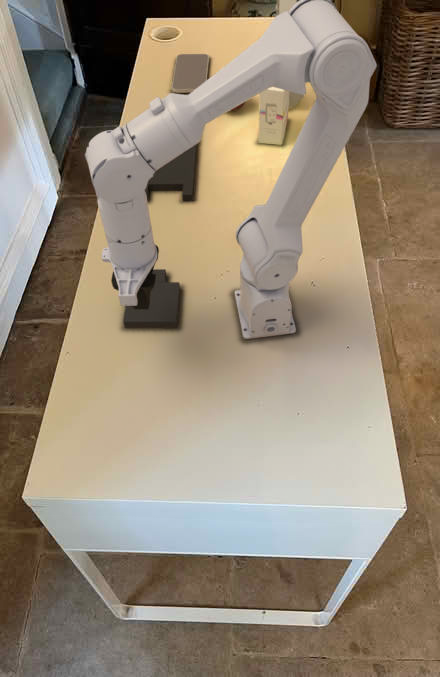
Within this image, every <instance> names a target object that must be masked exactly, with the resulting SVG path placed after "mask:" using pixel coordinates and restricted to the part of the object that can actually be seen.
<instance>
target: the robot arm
mask: <svg viewBox="0 0 440 677" xmlns="http://www.w3.org/2000/svg"><path fill="white" fill-rule="evenodd" d="M377 66H378V65H377V62H376V59H375V58H374V55H373V54H372V51H371V49H370V47H369V45H368V43H367V42H366V40H365V39H364V38H363V37H361V35H359V34H358V33H357V32H356V31H355V30H354V29H353V28H352V26H351V25H350V24H349V23H348V21H346V19H345V18H344V17H343V16H342V14H341V13H340V12H339V11H338V8H337V7H336V5H335V4H334V3H333V1H332V0H297V3H296V4H295V5H294V6H293V7H292V8H291V9H290V10H289V12H288V11H285V12H283V13H281V14H279V15H278V16H276V15H275V17H274V18H273V19H272V21H271V22H270V24H269V25H268V27H267V28H266V30H265V31H264V33H263V34H262V35H261V37H260V38H258V39H257V40H256V41H255V42H253V43H252V44H251V45H249V46H248V47H247V48H246V49H244V50H242V51H241V53H239V54H238V55H236V56H235V57H233V59H231V61H229V62H228V63H227V64H225V65H224V66H223V67H222V68H220V69H219V70H218V71H217V72H215V73H214V74H213V75H212V76H210V77H209V78H207V81H205V82H204V83H203V84H202V85H200V86H199V87H198V88H197V89H195V90H194V91H193V92H191V93H188V94H182V93H175V92H171V93H168V94H167V95H166V96H164V97H163V98H160V97H159V96H157V97H155V98H154V99H152V100H151V101H149V102H148V106H149V107H148V108H147V109H146V110H144V111H143V112H141V113H140V114H138V115H137V116H135V117H134V118H133V119H131V120H130V121H128V122H127V123H125V124H124V125H122V126H121V125H119V126H117V127H115V128H114V129H109V130H104V131H101V132H100V133H98V134H96V135H95V136H94V137H92V139H90V141H89V142H88V146H86V151H85V153H84V157H85V160H86V162H87V165H88V170H89V174H90V178H91V183H92V186H93V188H94V191H95V194H96V198H97V206H98V211H99V214H100V218H101V222H102V227H103V232H104V235H105V239H106V242H107V247H104V248H102V252H101V260H102V262H104V263H110V265H111V268H112V275H111V279H110V281H111V286H112V288H113V289H114V290H116V291H118V294H117V296H118V299H119V303H120V306H121V307H126V306H132V307H133V308H134V309H149V305H150V293H151V290H152V289H153V287H154V285H155V279H156V274H153V269H154V268H155V266H156V264H157V261H158V259H159V253H160V249H159V246H158V245H157V244H156V243H155V239H154V233H153V229H152V222H151V215H150V214H151V213H150V209H149V203H148V201H147V196H146V193H145V189H146V186H147V183H148V180H149V179H150V178H151V177H153V174H154V173H155V171H156V170H158V169H159V168H161V167H162V166H164V165H165V164H167V163H168V162H170V161H171V160H173V159H174V158H176V157H177V156H179V155H180V154H182V153H183V152H185V151H186V150H188V149H190V148H191V147H193V146H194V145H196V144H197V145H198V144H199V143H200V142H201V141H202V137H203V134H204V130H205V128H206V125H207V124H209V123H211V122H212V121H214V120H216V119H219V117H221V116H223V115H225V114H226V113H229V112H230V110H232V109H233V108H235V107H237V106H239V105H240V104H242V103H244V102H245V103H247V102H248V101H249V100H251V99H253V98H254V97H256V96H258V95H259V94H260V93H261V92H263V91H265V90H267V89H268V88H270V87H276V88H279V89H283V90H287V91H290V92H294V93H297V94H301V95H304V96H305V95H306V94H307V88H306V84H308V83H310V85H311V88H312V90H313V92H314V94H315V100H314V103H313V104H312V107H311V109H310V111H309V113H308V114H307V117H306V119H305V121H304V124H303V125H302V128H301V129H300V132H299V134H298V136H297V138H296V140H295V142H294V144H293V146H292V148H291V150H290V153H289V155H288V157H287V159H286V160H285V163H284V165H283V167H282V168H281V172H280V174H279V176H278V177H277V179H276V182H275V184H274V186H273V188H272V191H271V192H270V194H269V197H268V198H267V200H266V203H265V204H264V203H263V204H257V205H254V206H253V207H252V209H251V212H250V213H249V215H247V217H246V218H245V219H244V220H243V221H241V223H240V224H239V225H238V227H237V228H236V230H235V240H236V242H237V244H238V245H239V247H240V249H241V251H242V254H243V255H242V257H241V261H240V264H239V265H240V266H239V276H240V277H239V285H240V286H239V288H240V289H237V290H235V291H234V298H235V303H236V307H237V308H236V309H237V313H238V318H239V323H240V328H241V332H242V333H241V334H242V338H243V339H245V340H250V339H257V338H258V339H259V338H266V337H272V336H273V337H274V336H282V335H289V334H295V333H296V331H297V328H296V325H295V321H294V317H293V313H292V312H293V311H292V310H293V306H292V302H291V297H290V293H289V292H290V291H289V290H290V283H291V282H292V281H293V280H294V278H295V277H296V276H297V273H298V271H299V260H300V258H301V256H302V255H303V253H304V252H303V250H304V248H303V234H302V233H303V230H302V226H303V224H304V222H305V221H306V219H307V216H308V215H309V213H310V211H311V209H312V207H313V206H314V203H315V202H316V200H317V198H318V196H319V195H320V193H321V191H322V189H323V187H324V186H325V183H326V182H327V180H328V178H329V177H330V174H331V173H332V171H333V169H334V168H335V165H336V163H337V161H338V159H340V156H341V154H342V153H343V151H344V150H345V147H346V145H347V144H348V142H349V140H350V138H351V136H352V135H353V132H354V131H355V129H356V127H357V125H358V123H359V121H361V120H360V119H361V117H362V116H363V114H364V112H365V110H366V109H367V106H368V104H369V99H370V98H369V97H370V82H371V77H372V76H373V74H374V72H375V71H376V69H377Z"/></svg>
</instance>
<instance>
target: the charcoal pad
mask: <svg viewBox="0 0 440 677" xmlns="http://www.w3.org/2000/svg"><path fill="white" fill-rule="evenodd" d="M153 274H156V279H155V285H154V287H153V289H152V290H151V293H150V305H149V309H134V308H133V307H132V306H124V307H125V308H124V314H123V321H122V322H123V326H124V328H125V329H126V328H127V329H128V328H129V329H130V328H133V329H139V328H140V329H141V328H142V329H143V328H144V329H145V328H146V329H147V328H148V329H153V328H154V329H156V328H157V329H160V328H161V329H165V328H166V329H170V328H171V329H173V328H174V329H177V328H178V319H179V318H178V317H179V306H180V295H181V294H180V293H181V284H180V282H179V281H173V282H172V281H168V282H167V270H166V269H165V268H164V269H163V268H161V269H160V268H158V269H156V268H155V269H154V268H153Z"/></svg>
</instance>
